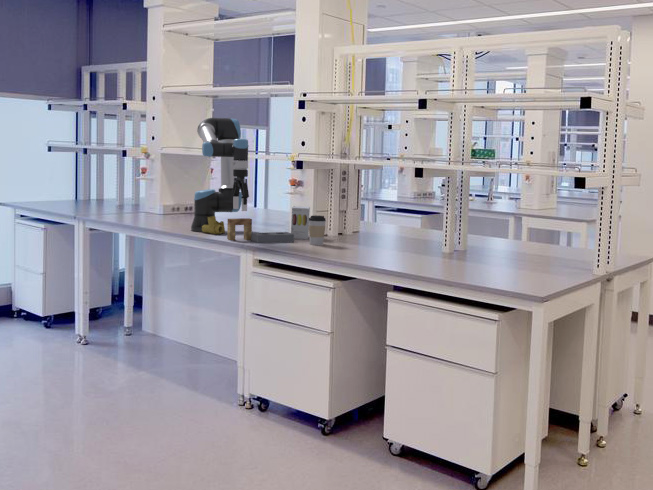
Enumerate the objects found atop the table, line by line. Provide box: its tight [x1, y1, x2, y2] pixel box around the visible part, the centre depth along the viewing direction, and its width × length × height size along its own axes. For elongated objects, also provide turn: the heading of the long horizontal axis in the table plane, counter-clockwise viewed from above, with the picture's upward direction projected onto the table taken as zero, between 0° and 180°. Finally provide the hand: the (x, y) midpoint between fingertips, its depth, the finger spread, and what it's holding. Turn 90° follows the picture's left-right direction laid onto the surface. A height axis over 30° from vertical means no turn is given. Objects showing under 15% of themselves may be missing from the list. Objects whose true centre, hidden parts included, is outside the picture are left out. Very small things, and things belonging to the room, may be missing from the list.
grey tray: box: [250, 231, 295, 244], centre depth 379 cm, size 20×10×4 cm, turn 116°
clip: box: [226, 217, 253, 241], centre depth 381 cm, size 12×4×11 cm, turn 116°
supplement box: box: [290, 206, 311, 240], centre depth 396 cm, size 10×9×17 cm
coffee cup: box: [309, 215, 327, 246], centre depth 372 cm, size 9×9×15 cm
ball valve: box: [202, 215, 226, 235], centre depth 403 cm, size 13×10×10 cm
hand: (240, 210), depth 379 cm, fingers open, 13 cm apart
